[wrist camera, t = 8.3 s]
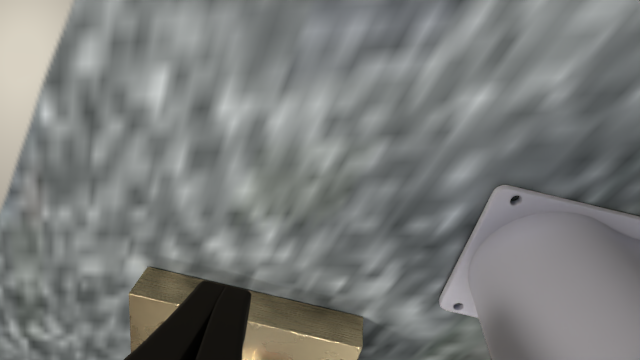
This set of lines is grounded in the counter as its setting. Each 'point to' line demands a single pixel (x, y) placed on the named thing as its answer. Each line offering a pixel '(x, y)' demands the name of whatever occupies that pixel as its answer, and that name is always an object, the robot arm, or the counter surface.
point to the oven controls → (252, 321)
